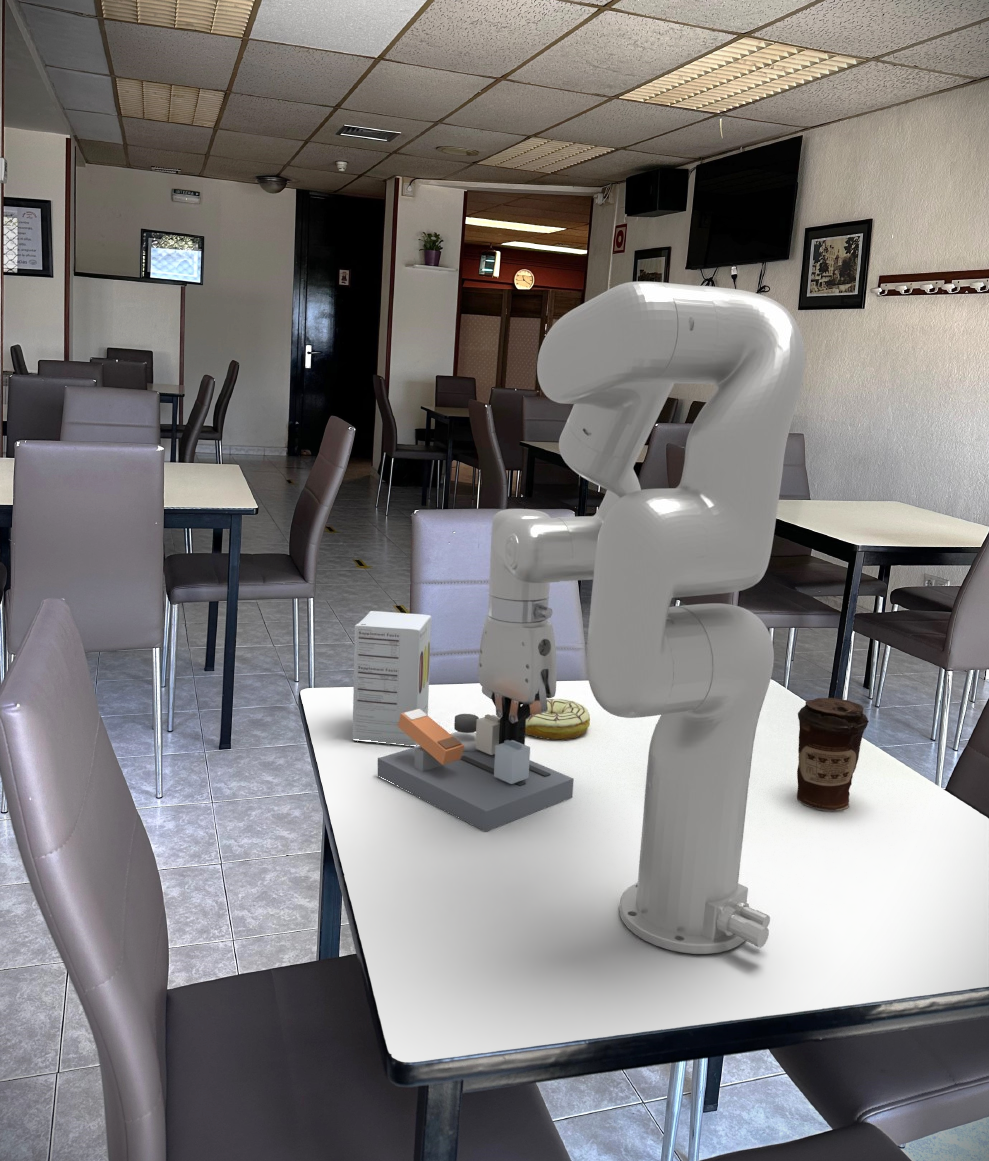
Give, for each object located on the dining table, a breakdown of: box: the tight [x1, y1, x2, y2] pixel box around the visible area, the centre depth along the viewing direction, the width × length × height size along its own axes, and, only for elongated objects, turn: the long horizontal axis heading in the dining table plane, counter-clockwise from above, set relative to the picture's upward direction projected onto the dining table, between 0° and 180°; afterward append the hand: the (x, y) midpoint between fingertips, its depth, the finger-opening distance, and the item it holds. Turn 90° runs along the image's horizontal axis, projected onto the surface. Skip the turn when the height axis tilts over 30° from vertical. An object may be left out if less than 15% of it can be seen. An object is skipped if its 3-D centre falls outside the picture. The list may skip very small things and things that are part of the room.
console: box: [377, 731, 575, 832], centre depth 128 cm, size 20×15×5 cm
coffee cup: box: [796, 697, 870, 812], centre depth 127 cm, size 9×8×13 cm
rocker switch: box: [398, 709, 464, 765], centre depth 127 cm, size 9×3×2 cm, turn 45°
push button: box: [453, 713, 480, 733], centre depth 135 cm, size 3×3×2 cm
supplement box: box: [352, 610, 432, 746], centre depth 143 cm, size 10×9×17 cm
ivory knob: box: [475, 713, 500, 755], centre depth 133 cm, size 3×3×4 cm
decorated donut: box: [525, 698, 591, 740], centre depth 150 cm, size 10×11×4 cm
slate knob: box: [494, 740, 531, 784], centre depth 124 cm, size 3×3×4 cm
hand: (511, 747), depth 130 cm, fingers closed
